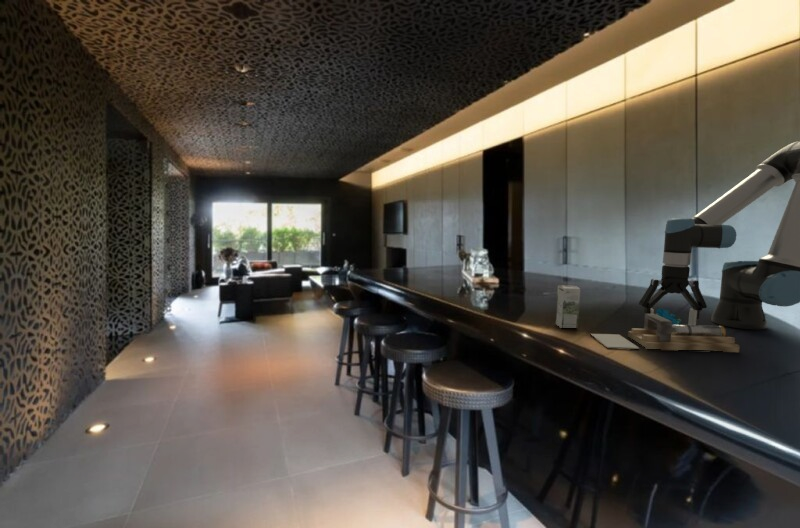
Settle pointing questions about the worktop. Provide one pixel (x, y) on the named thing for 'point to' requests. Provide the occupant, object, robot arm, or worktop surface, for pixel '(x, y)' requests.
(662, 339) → the stepped wooden platform
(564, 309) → the syrup box
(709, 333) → the shaft
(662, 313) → the blue knobby toy
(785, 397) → the worktop surface
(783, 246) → the robot arm
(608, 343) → the pad
